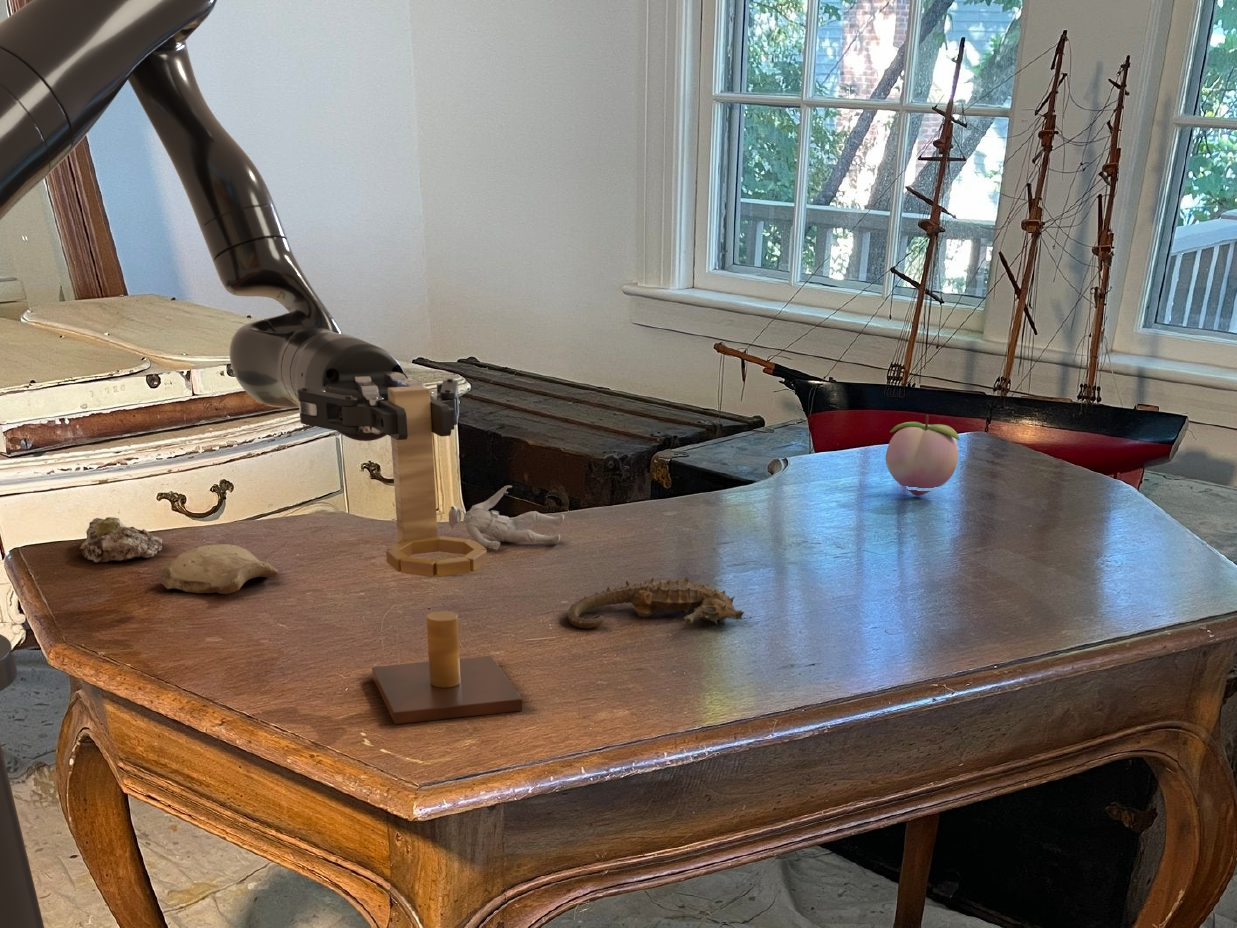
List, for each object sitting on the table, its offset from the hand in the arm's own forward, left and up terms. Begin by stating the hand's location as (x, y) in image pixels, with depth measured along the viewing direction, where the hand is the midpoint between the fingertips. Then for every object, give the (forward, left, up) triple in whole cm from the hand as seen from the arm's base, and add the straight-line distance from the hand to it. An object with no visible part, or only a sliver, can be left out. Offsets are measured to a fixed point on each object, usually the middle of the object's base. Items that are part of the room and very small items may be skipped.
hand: (424, 423), depth 95 cm
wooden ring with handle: (0, -1, -10) cm, 10 cm away
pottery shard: (-14, +32, -21) cm, 40 cm away
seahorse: (+23, +11, -21) cm, 33 cm away
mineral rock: (-24, +46, -21) cm, 55 cm away
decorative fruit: (+73, +49, -21) cm, 90 cm away
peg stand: (0, -2, -20) cm, 21 cm away
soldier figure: (+16, +40, -21) cm, 47 cm away
